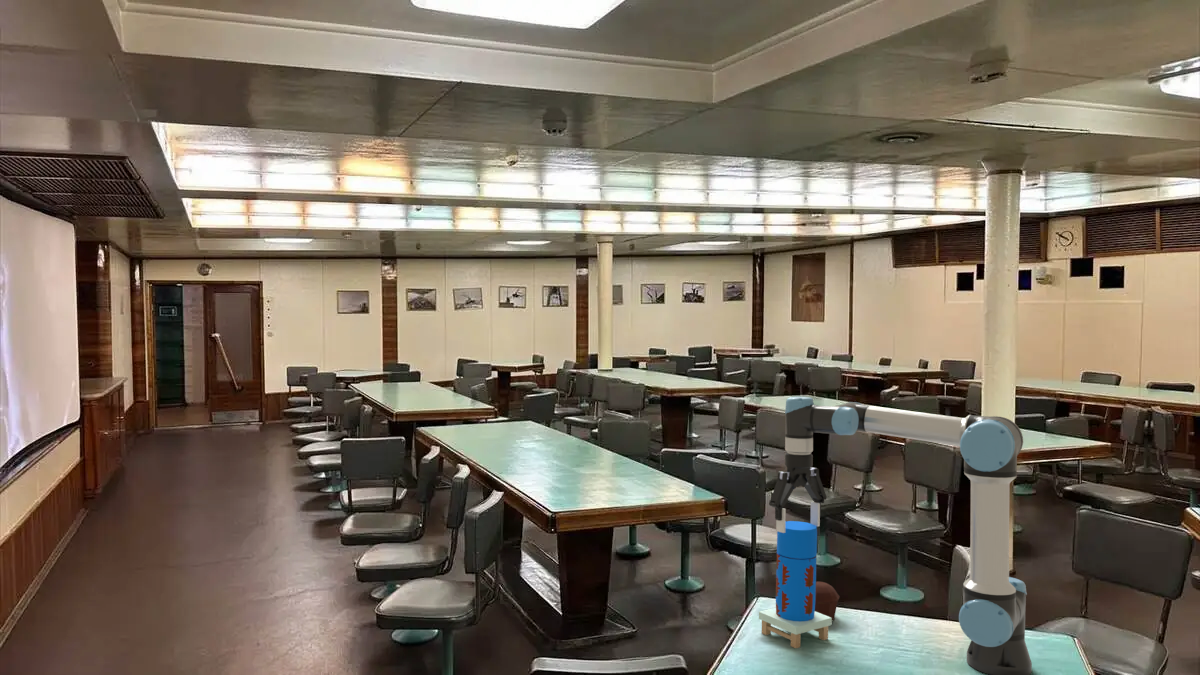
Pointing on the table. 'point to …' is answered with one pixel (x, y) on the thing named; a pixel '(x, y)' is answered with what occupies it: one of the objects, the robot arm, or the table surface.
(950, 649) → the table surface
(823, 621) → the footstool
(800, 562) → the thermos
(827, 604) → the muffin
